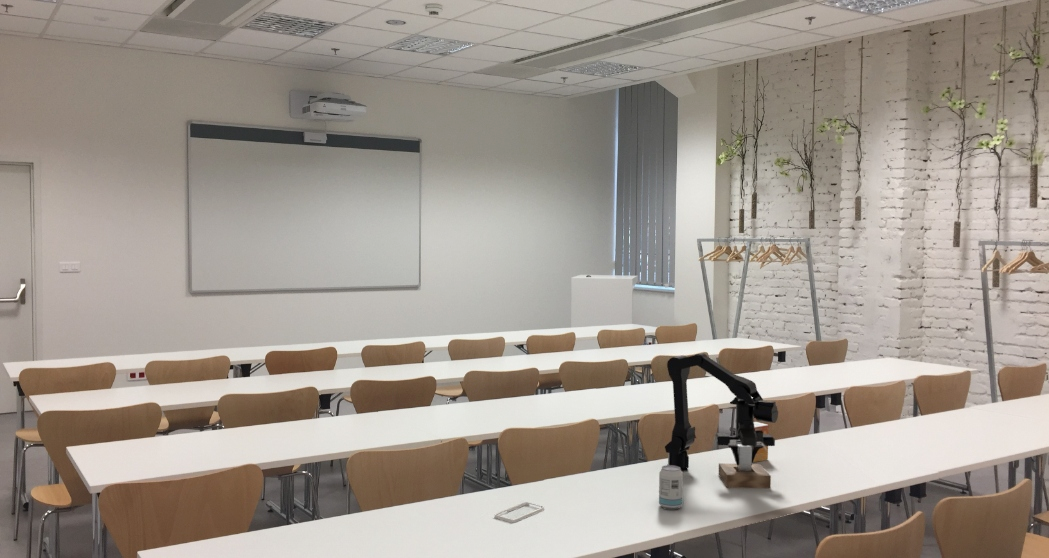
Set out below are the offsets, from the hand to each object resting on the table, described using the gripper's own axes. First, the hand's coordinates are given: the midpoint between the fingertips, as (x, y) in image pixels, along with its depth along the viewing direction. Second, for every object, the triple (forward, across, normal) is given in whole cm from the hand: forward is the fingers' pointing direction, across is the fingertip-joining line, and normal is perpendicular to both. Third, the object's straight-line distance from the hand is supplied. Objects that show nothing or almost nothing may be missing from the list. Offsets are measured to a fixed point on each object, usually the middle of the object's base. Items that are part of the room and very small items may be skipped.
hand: (743, 465), depth 270 cm
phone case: (+6, -73, -36) cm, 82 cm away
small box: (+6, +10, +28) cm, 30 cm away
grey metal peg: (+4, 0, 0) cm, 4 cm away
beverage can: (+6, -28, -28) cm, 40 cm away
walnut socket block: (+6, 0, 0) cm, 6 cm away
